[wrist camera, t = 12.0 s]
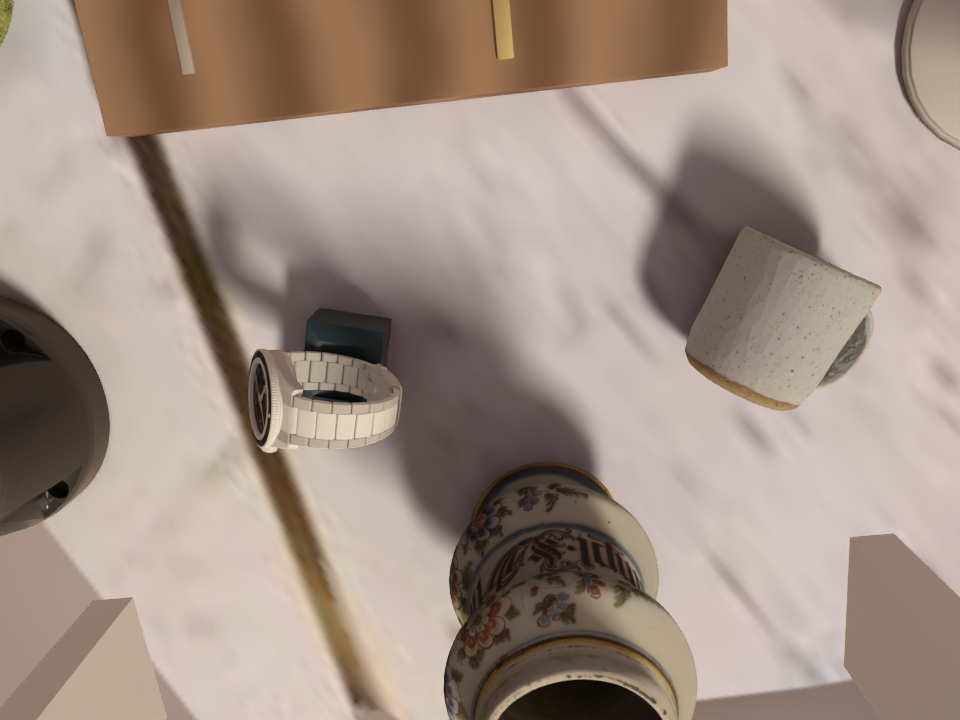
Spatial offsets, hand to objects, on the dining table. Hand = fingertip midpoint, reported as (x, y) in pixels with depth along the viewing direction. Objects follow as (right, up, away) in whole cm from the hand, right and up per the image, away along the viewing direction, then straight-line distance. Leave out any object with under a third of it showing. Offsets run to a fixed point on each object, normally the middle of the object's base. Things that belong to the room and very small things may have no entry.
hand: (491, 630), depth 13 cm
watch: (-8, +5, +31) cm, 32 cm away
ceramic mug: (+17, +8, +30) cm, 35 cm away
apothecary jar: (+4, -6, +34) cm, 35 cm away
